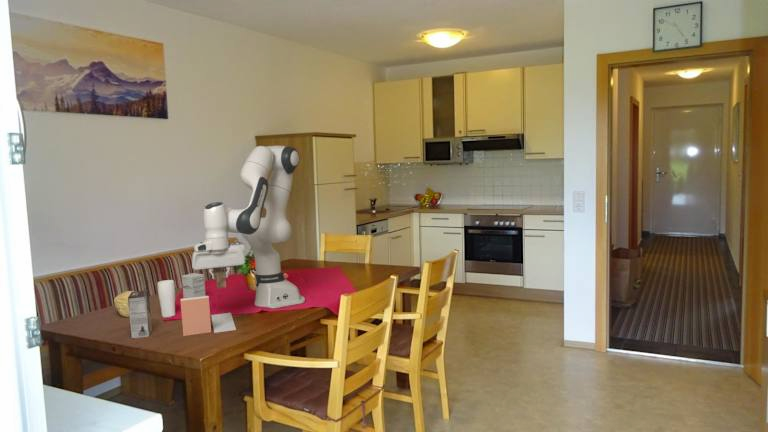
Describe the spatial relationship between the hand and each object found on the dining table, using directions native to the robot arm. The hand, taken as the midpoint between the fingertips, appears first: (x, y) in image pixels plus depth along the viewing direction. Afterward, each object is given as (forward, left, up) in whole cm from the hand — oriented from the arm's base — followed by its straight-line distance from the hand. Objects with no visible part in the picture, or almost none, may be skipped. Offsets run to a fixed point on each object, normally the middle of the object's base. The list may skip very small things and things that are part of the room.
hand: (220, 278), depth 223 cm
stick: (0, 0, -2) cm, 2 cm away
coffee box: (+30, 0, -19) cm, 36 cm away
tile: (+10, +10, -19) cm, 23 cm away
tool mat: (0, 0, -19) cm, 19 cm away
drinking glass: (+21, -22, -19) cm, 36 cm away
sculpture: (+36, -32, -19) cm, 52 cm away
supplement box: (+10, -44, -19) cm, 49 cm away
